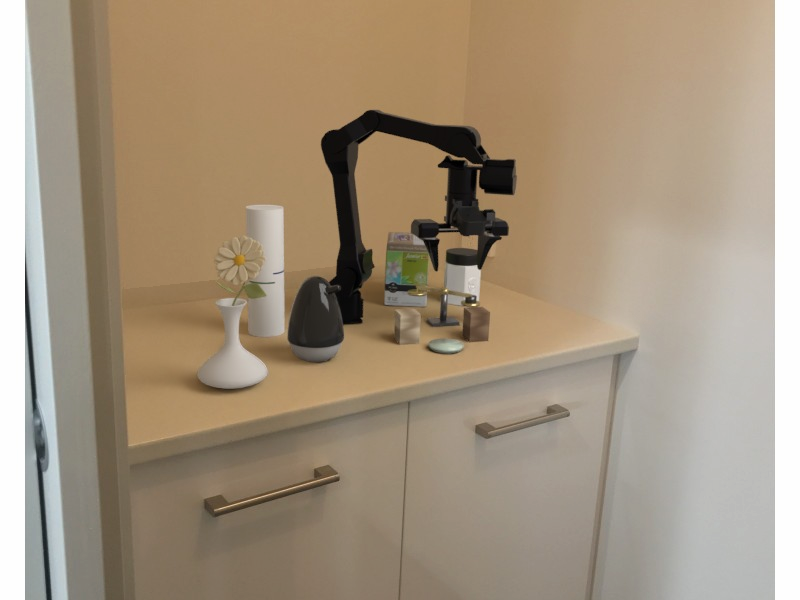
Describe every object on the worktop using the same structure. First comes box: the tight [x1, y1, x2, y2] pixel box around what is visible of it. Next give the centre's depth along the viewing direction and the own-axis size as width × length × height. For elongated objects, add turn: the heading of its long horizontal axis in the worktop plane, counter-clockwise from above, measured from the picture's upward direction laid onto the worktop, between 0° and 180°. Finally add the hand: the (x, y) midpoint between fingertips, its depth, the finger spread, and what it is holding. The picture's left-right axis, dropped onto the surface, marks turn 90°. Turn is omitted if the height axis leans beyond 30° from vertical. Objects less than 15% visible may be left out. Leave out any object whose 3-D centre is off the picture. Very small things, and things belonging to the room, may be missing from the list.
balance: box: [408, 284, 481, 328], centre depth 163 cm, size 16×4×9 cm, turn 106°
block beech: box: [393, 308, 422, 346], centre depth 151 cm, size 4×4×6 cm
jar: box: [443, 247, 482, 307], centre depth 180 cm, size 9×8×12 cm
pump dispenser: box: [286, 275, 345, 363], centre depth 139 cm, size 10×10×15 cm
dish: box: [428, 338, 464, 355], centre depth 148 cm, size 7×7×1 cm
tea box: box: [383, 231, 430, 308], centre depth 181 cm, size 15×10×15 cm, turn 179°
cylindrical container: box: [245, 204, 286, 338], centre depth 152 cm, size 7×7×25 cm
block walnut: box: [461, 306, 491, 343], centre depth 154 cm, size 4×4×6 cm
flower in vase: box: [197, 234, 269, 390], centre depth 125 cm, size 13×11×25 cm
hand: (457, 270), depth 155 cm, fingers open, 9 cm apart
